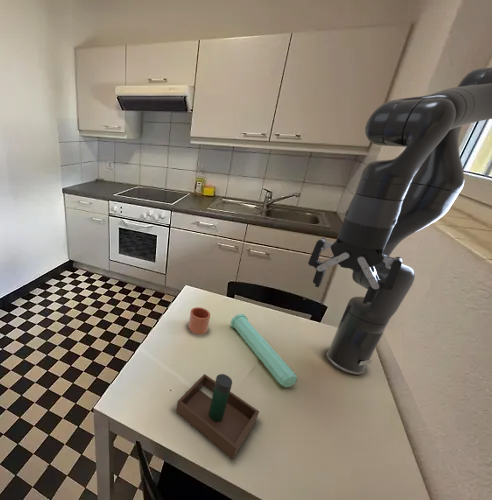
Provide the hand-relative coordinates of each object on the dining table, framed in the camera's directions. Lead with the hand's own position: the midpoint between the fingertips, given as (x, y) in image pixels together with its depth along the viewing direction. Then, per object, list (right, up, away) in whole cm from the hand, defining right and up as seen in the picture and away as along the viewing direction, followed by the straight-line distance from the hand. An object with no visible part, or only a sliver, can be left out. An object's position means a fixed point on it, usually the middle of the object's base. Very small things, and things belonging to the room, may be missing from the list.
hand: (339, 293), depth 59 cm
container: (-7, -22, +24) cm, 33 cm away
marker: (-25, -29, +5) cm, 38 cm away
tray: (-25, -29, +5) cm, 39 cm away
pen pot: (-23, -17, +33) cm, 44 cm away
